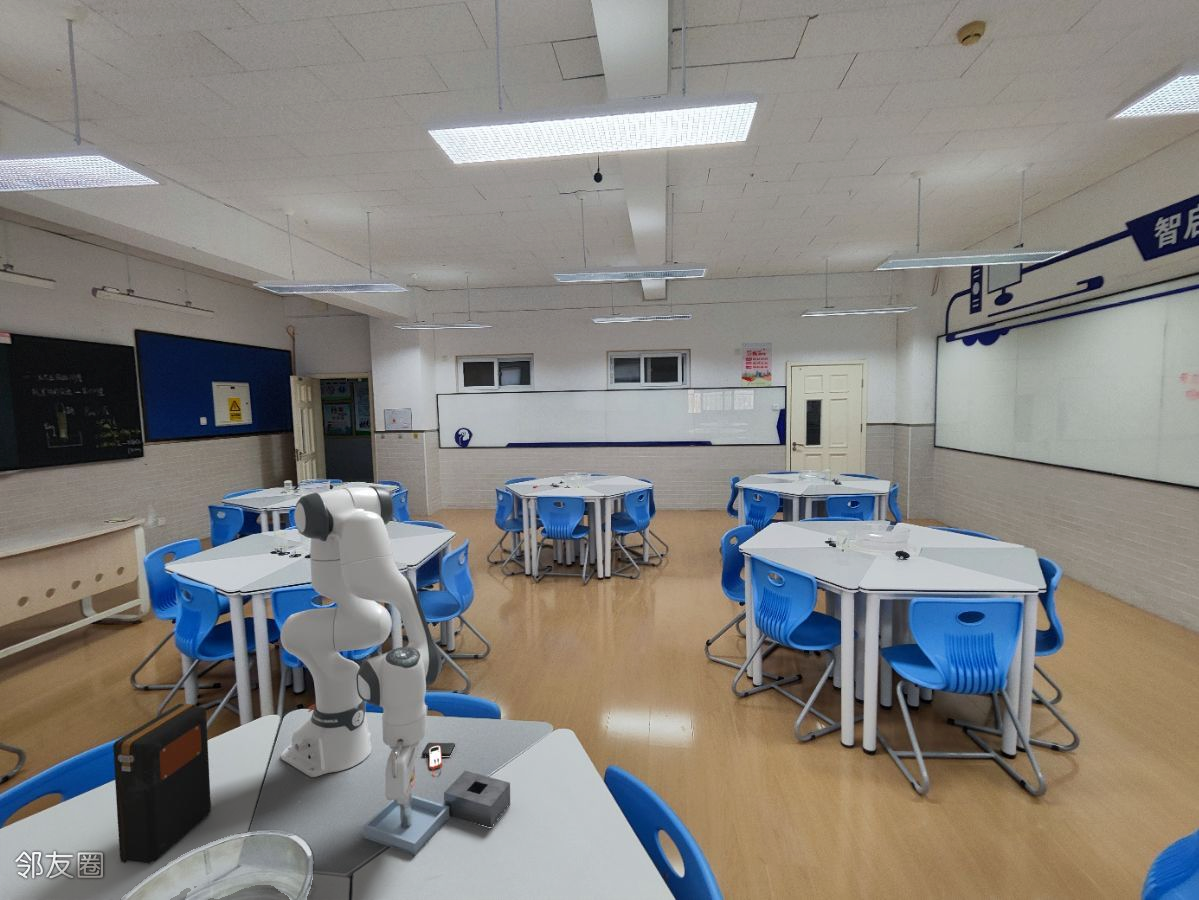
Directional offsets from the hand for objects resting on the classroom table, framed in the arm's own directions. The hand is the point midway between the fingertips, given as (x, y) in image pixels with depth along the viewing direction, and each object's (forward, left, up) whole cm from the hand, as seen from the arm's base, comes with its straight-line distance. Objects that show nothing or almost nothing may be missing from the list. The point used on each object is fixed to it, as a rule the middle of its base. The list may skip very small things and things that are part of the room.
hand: (406, 789), depth 117 cm
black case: (-45, -20, -8) cm, 50 cm away
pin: (0, 0, -8) cm, 8 cm away
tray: (0, 0, -8) cm, 8 cm away
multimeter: (-7, +19, -9) cm, 22 cm away
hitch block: (+11, +10, -8) cm, 17 cm away
